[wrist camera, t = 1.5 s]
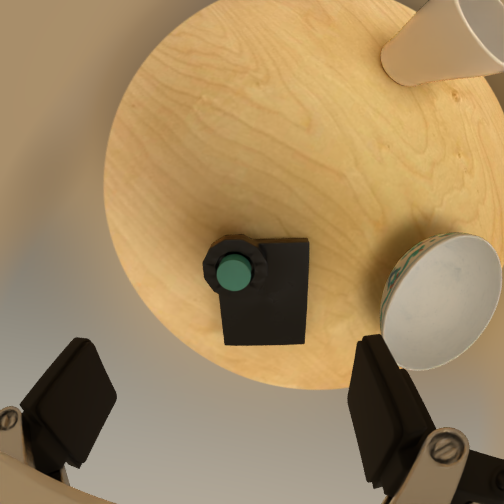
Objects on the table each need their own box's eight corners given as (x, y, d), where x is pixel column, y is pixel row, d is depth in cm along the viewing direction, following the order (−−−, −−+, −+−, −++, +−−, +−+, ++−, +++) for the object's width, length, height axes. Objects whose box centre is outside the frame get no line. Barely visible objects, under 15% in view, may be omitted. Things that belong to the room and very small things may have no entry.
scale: (217, 338, 33) (214, 354, 30) (206, 231, 28) (199, 240, 26) (303, 336, 32) (306, 353, 29) (307, 228, 28) (312, 237, 25)
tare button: (220, 283, 27) (218, 291, 26) (217, 254, 26) (215, 260, 25) (252, 283, 27) (251, 290, 26) (250, 253, 26) (249, 259, 25)
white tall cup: (437, 68, 21) (532, 40, 7) (410, 107, 23) (514, 91, 9) (390, 25, 20) (467, -35, 6) (360, 62, 22) (438, 2, 8)
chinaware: (453, 319, 31) (481, 352, 24) (355, 339, 32) (373, 383, 25) (470, 211, 26) (512, 230, 19) (361, 218, 27) (391, 242, 20)
